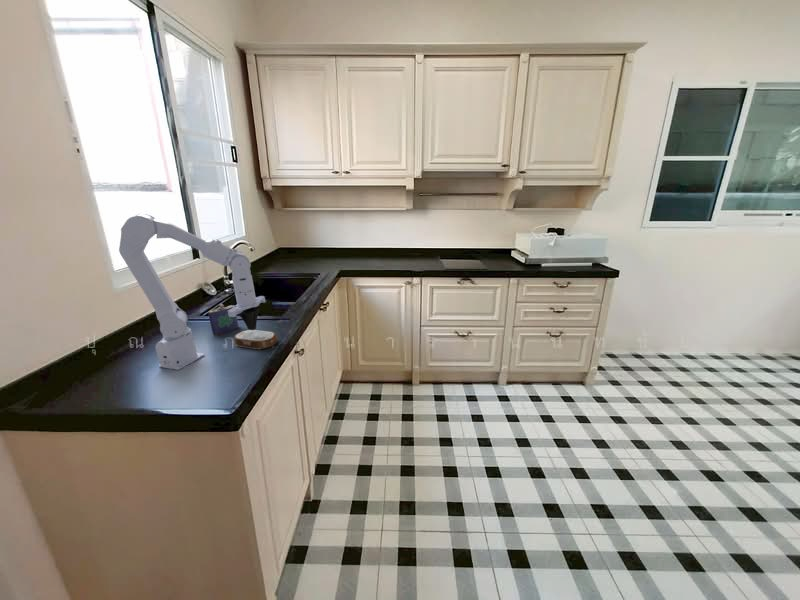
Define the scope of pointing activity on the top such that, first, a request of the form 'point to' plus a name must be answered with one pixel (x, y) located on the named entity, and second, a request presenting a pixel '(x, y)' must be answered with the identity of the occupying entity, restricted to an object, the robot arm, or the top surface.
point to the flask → (222, 320)
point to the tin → (255, 339)
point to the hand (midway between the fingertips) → (252, 329)
